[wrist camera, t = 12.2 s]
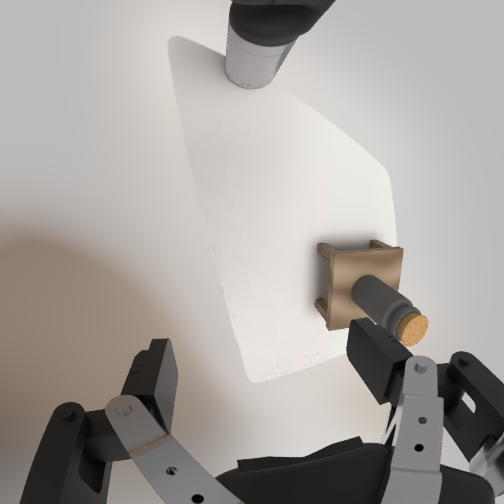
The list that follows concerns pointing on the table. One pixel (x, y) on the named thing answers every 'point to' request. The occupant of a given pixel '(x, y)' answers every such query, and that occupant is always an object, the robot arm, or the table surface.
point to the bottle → (389, 309)
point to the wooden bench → (355, 279)
